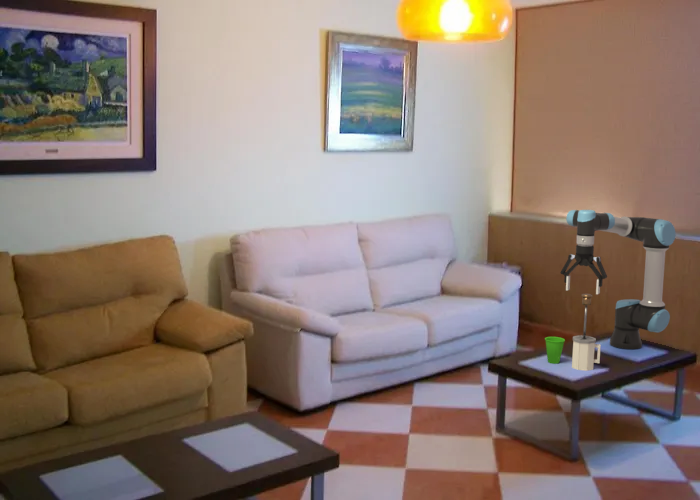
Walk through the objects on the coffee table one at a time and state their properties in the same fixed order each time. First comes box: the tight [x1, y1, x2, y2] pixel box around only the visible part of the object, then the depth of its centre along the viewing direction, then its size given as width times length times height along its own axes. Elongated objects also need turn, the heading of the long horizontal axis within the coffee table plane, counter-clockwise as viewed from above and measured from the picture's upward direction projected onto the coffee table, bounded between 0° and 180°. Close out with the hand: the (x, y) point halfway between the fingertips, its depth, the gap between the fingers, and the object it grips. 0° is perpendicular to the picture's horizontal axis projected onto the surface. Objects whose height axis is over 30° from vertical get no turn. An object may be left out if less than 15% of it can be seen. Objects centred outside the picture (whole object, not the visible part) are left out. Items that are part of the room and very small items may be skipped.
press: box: [571, 334, 601, 372], centre depth 367 cm, size 10×12×14 cm
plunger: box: [581, 293, 593, 339], centre depth 364 cm, size 6×6×22 cm
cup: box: [544, 336, 566, 365], centre depth 374 cm, size 9×9×11 cm
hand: (582, 291), depth 365 cm, fingers open, 13 cm apart
